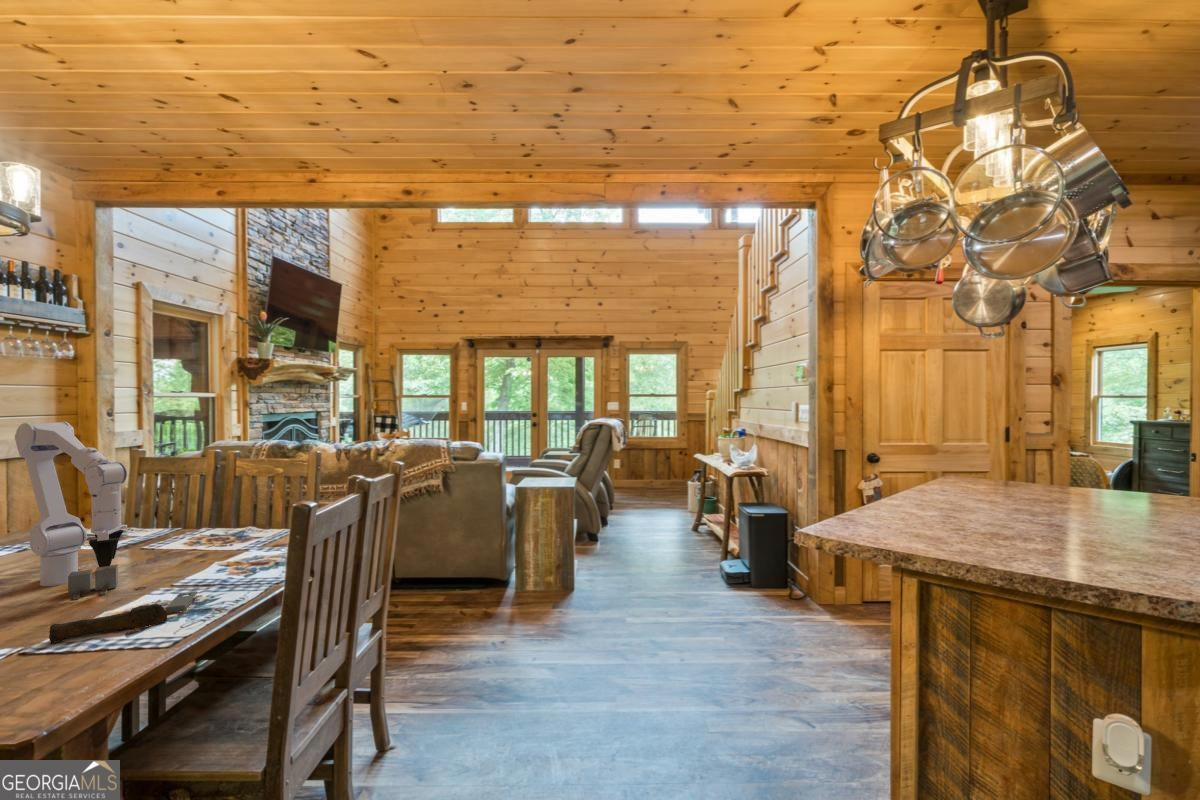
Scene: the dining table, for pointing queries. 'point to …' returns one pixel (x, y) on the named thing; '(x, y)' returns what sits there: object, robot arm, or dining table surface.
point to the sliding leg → (106, 578)
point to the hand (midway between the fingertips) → (106, 562)
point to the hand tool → (109, 623)
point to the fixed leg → (79, 583)
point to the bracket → (181, 602)
